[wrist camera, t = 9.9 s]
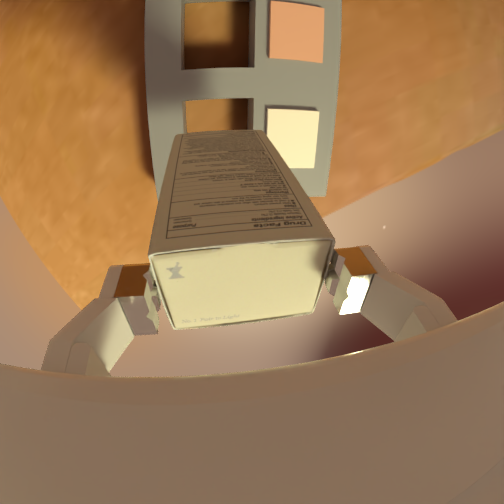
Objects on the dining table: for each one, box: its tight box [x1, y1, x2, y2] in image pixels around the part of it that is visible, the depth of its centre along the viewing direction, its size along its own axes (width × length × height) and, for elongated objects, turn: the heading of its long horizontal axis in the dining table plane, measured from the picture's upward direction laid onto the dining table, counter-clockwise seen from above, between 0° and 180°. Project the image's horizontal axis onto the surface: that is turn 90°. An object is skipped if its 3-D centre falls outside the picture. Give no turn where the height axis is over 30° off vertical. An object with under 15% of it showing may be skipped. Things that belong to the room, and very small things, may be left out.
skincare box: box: [148, 130, 335, 330], centre depth 14 cm, size 6×4×12 cm
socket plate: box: [145, 0, 342, 201], centre depth 23 cm, size 18×24×4 cm
